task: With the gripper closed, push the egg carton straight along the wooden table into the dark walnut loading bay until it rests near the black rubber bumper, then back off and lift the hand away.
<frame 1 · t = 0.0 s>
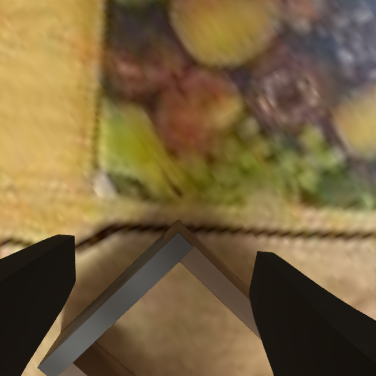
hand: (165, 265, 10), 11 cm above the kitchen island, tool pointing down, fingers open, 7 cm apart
dock: (189, 343, 22), on the kitchen island
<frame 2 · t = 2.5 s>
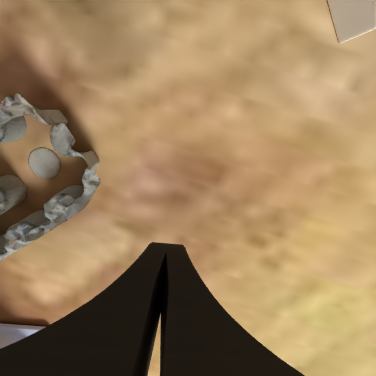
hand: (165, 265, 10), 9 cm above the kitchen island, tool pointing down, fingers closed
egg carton: (32, 177, 19), on the kitchen island
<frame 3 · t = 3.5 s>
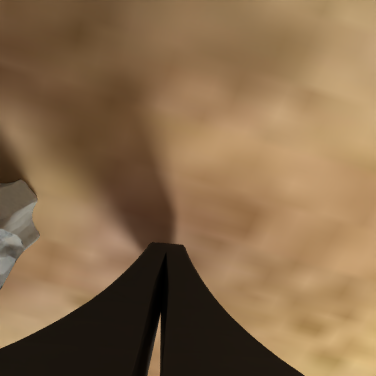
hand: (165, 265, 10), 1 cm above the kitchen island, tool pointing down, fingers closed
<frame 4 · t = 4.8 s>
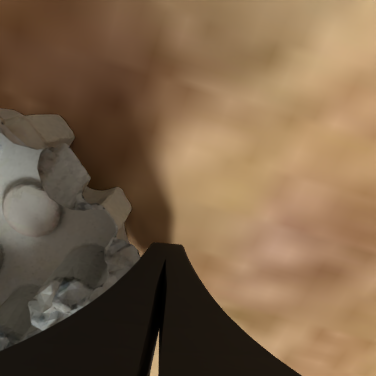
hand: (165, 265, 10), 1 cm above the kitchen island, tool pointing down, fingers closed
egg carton: (12, 232, 11), on the kitchen island, touching gripper
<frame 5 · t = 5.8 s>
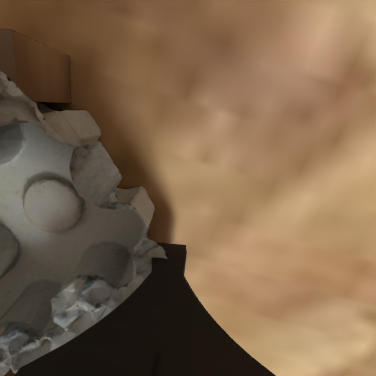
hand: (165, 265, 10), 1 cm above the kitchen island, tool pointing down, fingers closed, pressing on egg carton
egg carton: (30, 227, 11), on the kitchen island, touching dock, gripper
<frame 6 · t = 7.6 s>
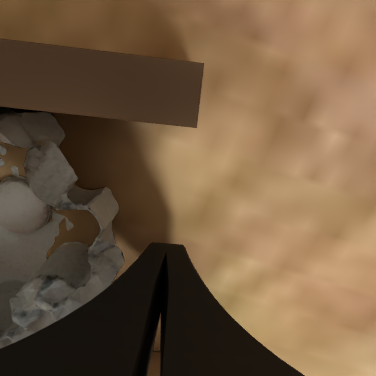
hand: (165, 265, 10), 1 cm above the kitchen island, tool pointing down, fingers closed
dock: (10, 239, 11), on the kitchen island
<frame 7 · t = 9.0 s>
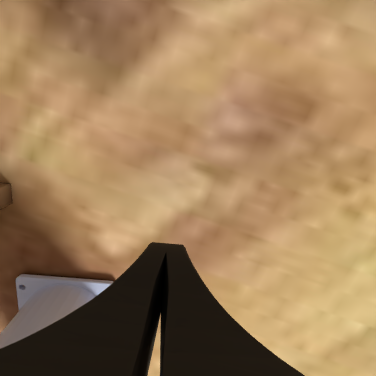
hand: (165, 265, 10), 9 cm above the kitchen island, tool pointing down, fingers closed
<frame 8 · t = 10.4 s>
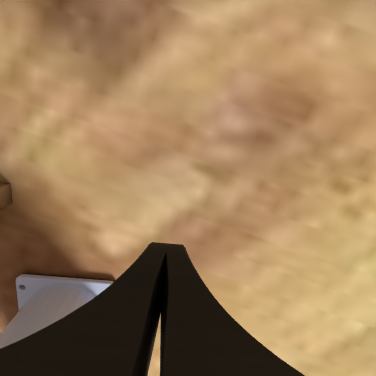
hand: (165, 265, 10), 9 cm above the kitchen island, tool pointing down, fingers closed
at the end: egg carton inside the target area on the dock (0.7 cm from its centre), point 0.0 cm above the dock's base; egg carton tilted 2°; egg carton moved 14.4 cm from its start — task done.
